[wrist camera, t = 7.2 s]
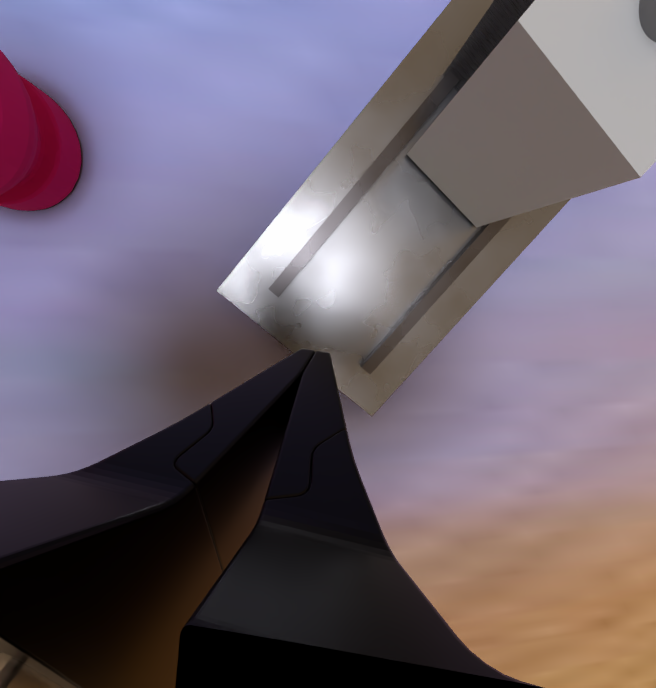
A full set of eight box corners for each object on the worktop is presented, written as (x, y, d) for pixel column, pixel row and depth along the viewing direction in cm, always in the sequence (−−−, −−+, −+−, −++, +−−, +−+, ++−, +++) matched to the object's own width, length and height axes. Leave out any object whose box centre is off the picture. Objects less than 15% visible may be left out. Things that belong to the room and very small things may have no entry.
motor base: (368, 409, 21) (442, 553, 10) (221, 290, 19) (106, 303, 8) (610, 142, 19) (1049, -55, 8) (478, -27, 17) (828, -634, 6)
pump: (476, 227, 18) (729, 150, 7) (406, 154, 17) (584, -60, 6) (527, 169, 18) (873, -1, 7) (459, 91, 17) (744, -251, 6)
